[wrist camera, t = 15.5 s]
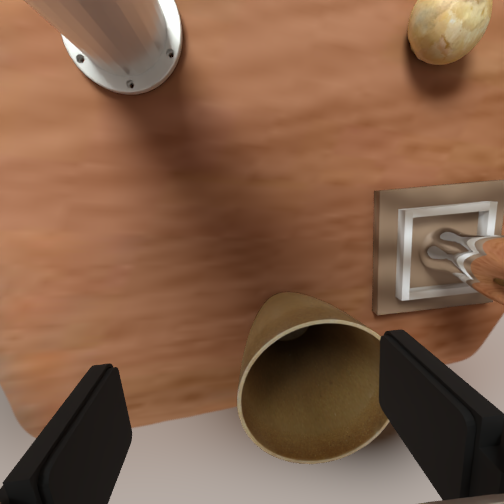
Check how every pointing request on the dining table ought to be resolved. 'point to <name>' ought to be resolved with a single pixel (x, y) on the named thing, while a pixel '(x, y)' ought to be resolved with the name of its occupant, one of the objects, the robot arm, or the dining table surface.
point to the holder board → (412, 234)
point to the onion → (447, 28)
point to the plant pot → (309, 381)
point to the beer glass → (467, 259)
